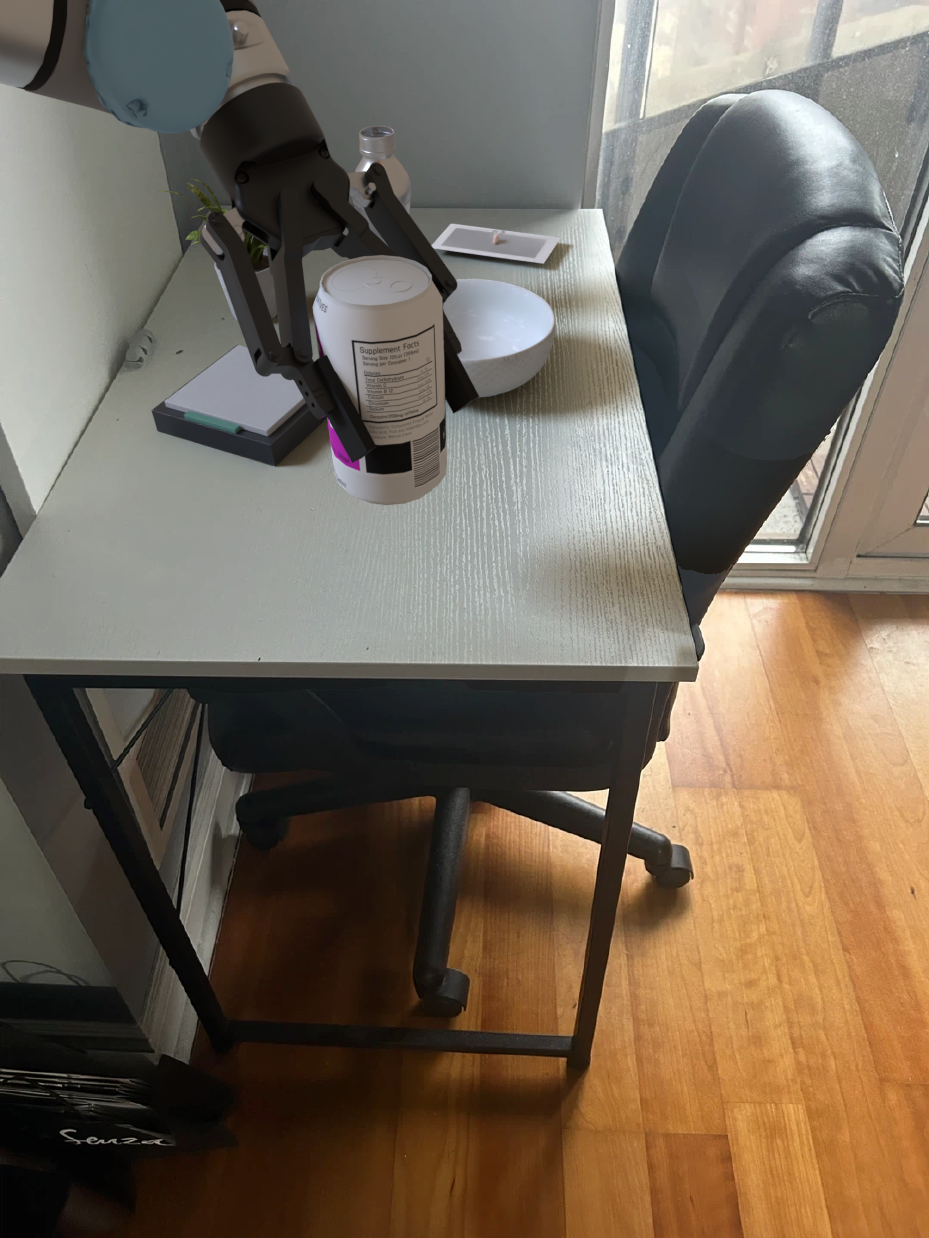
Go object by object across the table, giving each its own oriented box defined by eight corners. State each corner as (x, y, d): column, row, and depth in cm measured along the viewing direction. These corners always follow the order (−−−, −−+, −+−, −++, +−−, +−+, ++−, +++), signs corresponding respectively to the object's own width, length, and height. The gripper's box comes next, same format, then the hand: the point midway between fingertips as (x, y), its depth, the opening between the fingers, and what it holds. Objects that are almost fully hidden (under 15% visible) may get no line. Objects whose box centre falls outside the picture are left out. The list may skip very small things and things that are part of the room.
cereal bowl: (399, 431, 92) (394, 366, 87) (383, 347, 104) (377, 285, 99) (569, 413, 94) (573, 348, 88) (534, 332, 105) (536, 271, 100)
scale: (275, 466, 88) (269, 438, 86) (157, 431, 93) (149, 403, 90) (352, 393, 97) (349, 366, 95) (241, 364, 101) (236, 338, 99)
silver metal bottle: (365, 335, 105) (346, 146, 91) (361, 307, 110) (342, 123, 96) (422, 330, 106) (412, 141, 92) (415, 302, 111) (405, 119, 97)
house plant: (191, 356, 103) (153, 204, 91) (176, 301, 112) (140, 156, 101) (319, 334, 106) (298, 184, 94) (294, 282, 115) (273, 139, 104)
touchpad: (543, 272, 116) (544, 255, 114) (429, 256, 120) (429, 239, 118) (560, 246, 121) (561, 229, 120) (451, 232, 125) (450, 215, 123)
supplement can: (315, 495, 68) (285, 297, 57) (367, 435, 73) (348, 243, 62) (419, 521, 65) (407, 320, 55) (464, 457, 71) (461, 262, 60)
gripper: (104, 115, 53) (305, 477, 55) (397, 45, 62) (556, 355, 65) (89, 187, 59) (269, 507, 62) (357, 113, 69) (503, 392, 72)
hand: (416, 429), depth 63 cm, fingers closed on supplement can, 8 cm apart
